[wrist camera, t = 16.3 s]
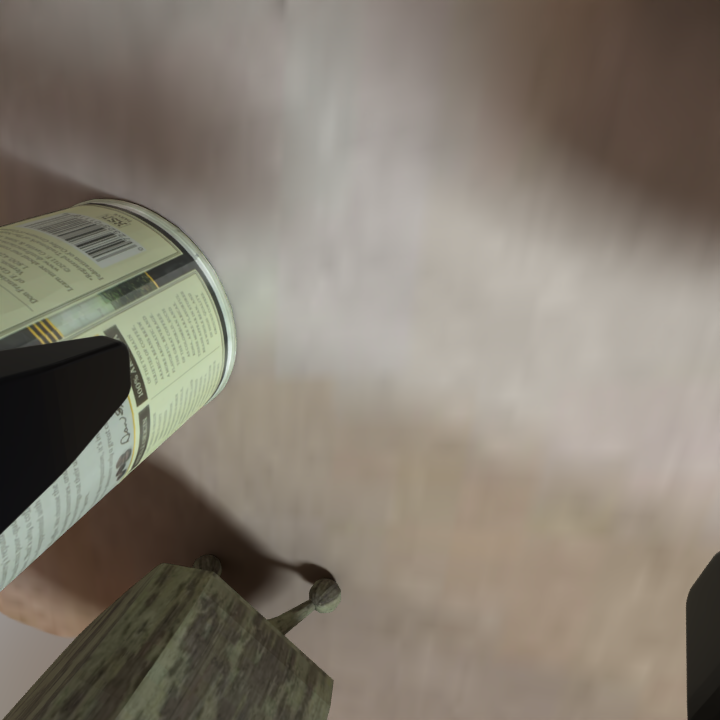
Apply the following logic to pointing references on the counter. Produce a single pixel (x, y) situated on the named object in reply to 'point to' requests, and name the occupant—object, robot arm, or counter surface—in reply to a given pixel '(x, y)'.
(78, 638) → the tabletop clock
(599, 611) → the counter surface
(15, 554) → the coffee can
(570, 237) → the counter surface
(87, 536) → the counter surface
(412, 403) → the counter surface
